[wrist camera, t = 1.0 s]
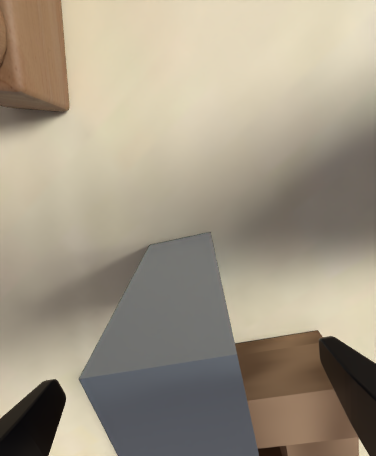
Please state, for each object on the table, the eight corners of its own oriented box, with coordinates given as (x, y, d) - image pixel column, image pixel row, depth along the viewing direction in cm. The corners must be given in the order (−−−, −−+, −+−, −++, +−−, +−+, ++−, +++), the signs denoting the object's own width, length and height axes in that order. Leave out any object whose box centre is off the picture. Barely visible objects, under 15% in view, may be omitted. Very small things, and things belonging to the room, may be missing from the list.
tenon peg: (210, 231, 14) (236, 354, 5) (222, 286, 15) (260, 461, 6) (149, 245, 14) (78, 379, 5) (165, 297, 15) (128, 475, 7)
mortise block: (318, 330, 16) (357, 385, 12) (327, 454, 20) (359, 525, 16) (133, 360, 17) (115, 418, 13) (177, 470, 21) (173, 539, 17)
